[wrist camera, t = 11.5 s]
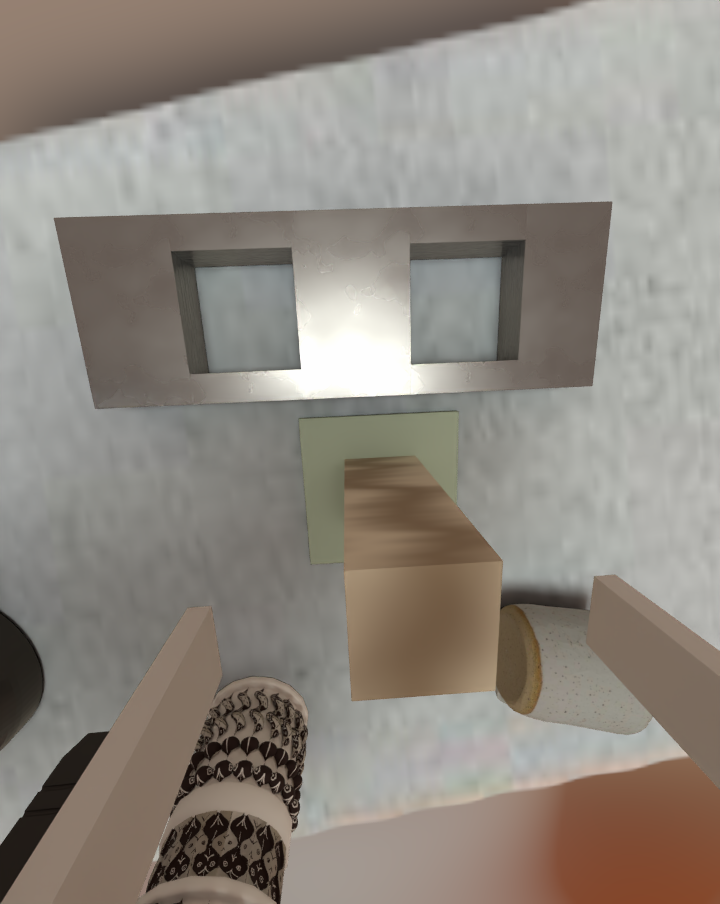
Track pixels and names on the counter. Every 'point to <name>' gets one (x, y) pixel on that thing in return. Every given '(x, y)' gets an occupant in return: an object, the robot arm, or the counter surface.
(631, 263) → the counter surface
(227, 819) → the decorative candle
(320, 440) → the mat
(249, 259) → the grey flat slotted plate
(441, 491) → the peg
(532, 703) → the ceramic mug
